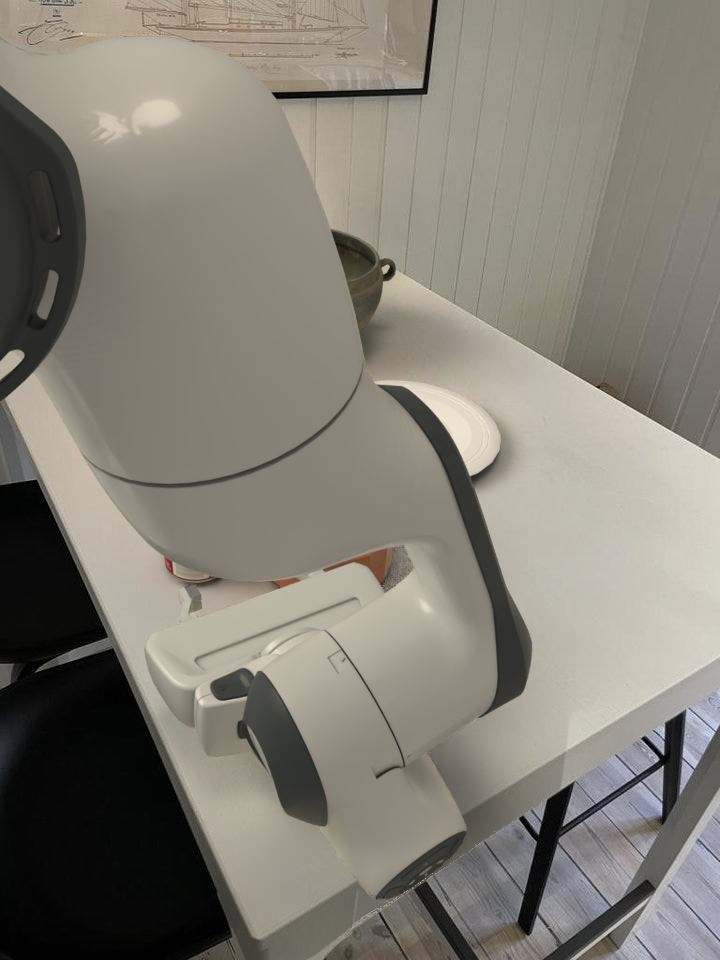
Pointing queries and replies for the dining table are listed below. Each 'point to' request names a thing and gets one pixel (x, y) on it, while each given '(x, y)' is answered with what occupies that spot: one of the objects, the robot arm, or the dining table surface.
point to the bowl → (362, 274)
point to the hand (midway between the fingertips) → (237, 573)
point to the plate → (460, 423)
